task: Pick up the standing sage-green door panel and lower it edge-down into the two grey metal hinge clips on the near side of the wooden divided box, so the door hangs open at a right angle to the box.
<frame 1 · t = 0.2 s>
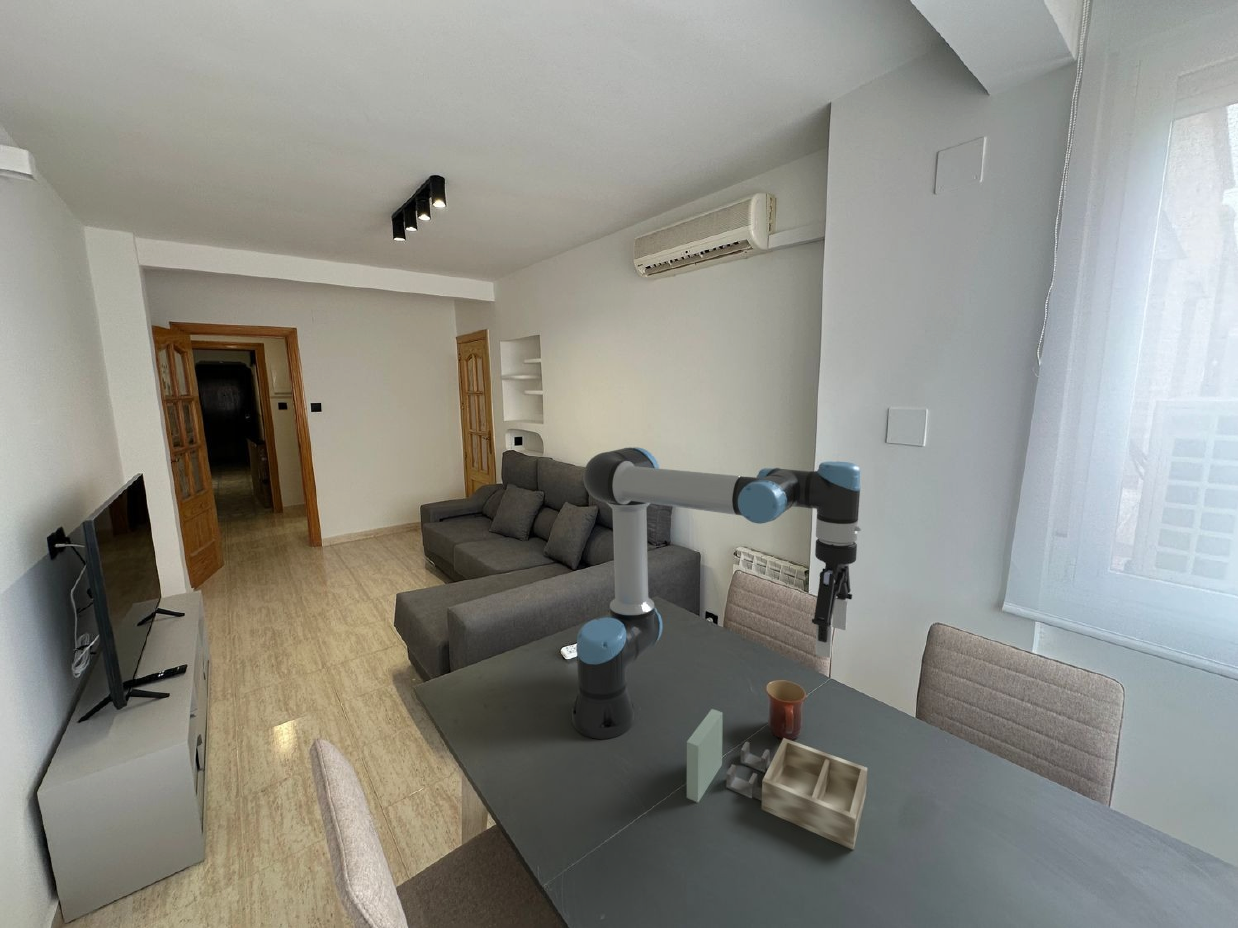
hand: (831, 641, 103), 28 cm above the table, fingers open, 13 cm apart
wooden divided box: (814, 802, 97), on the table
door: (705, 780, 103), on the table
mug: (785, 736, 116), on the table
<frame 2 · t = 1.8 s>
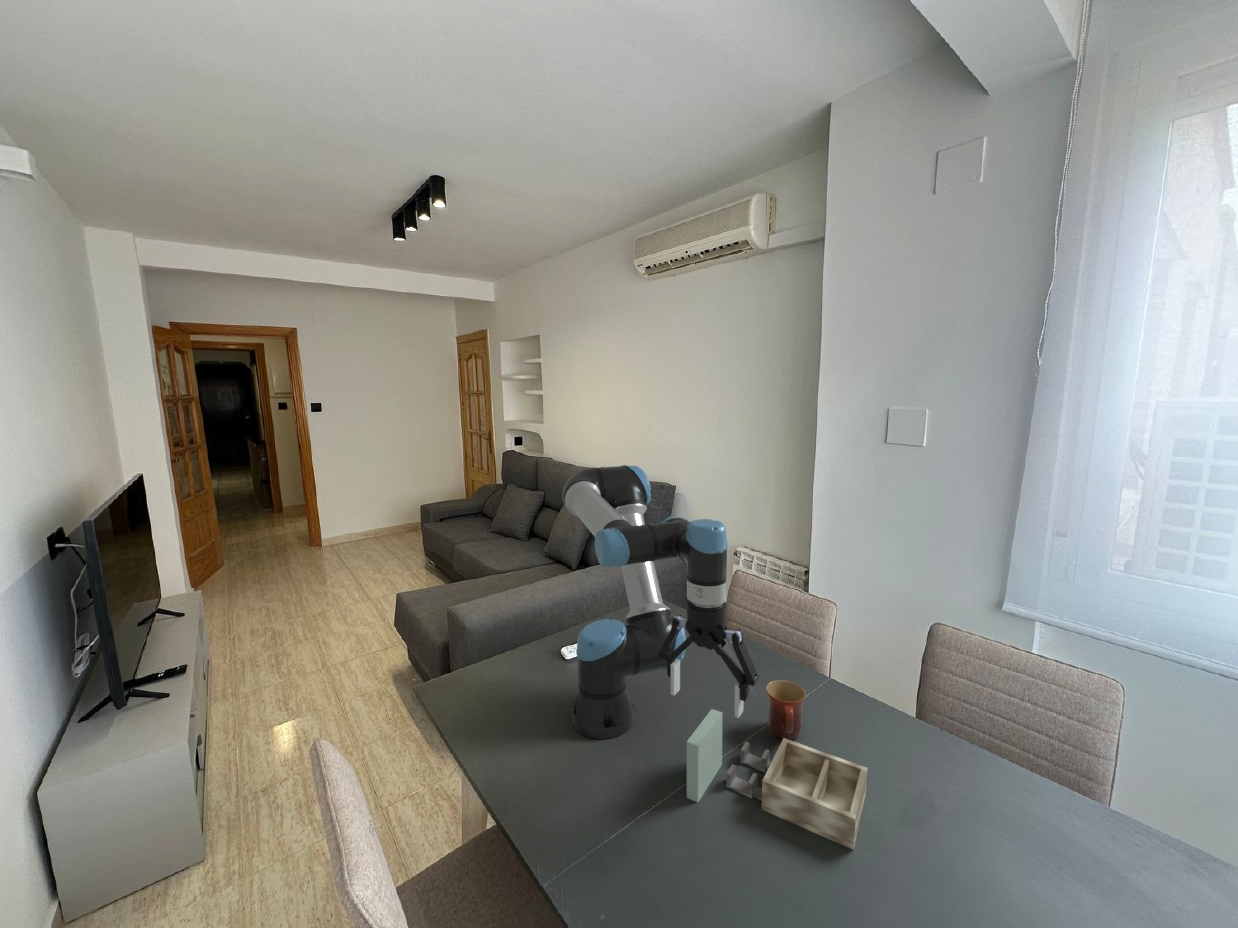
hand: (706, 702, 101), 17 cm above the table, fingers open, 13 cm apart
nothing on the table moved.
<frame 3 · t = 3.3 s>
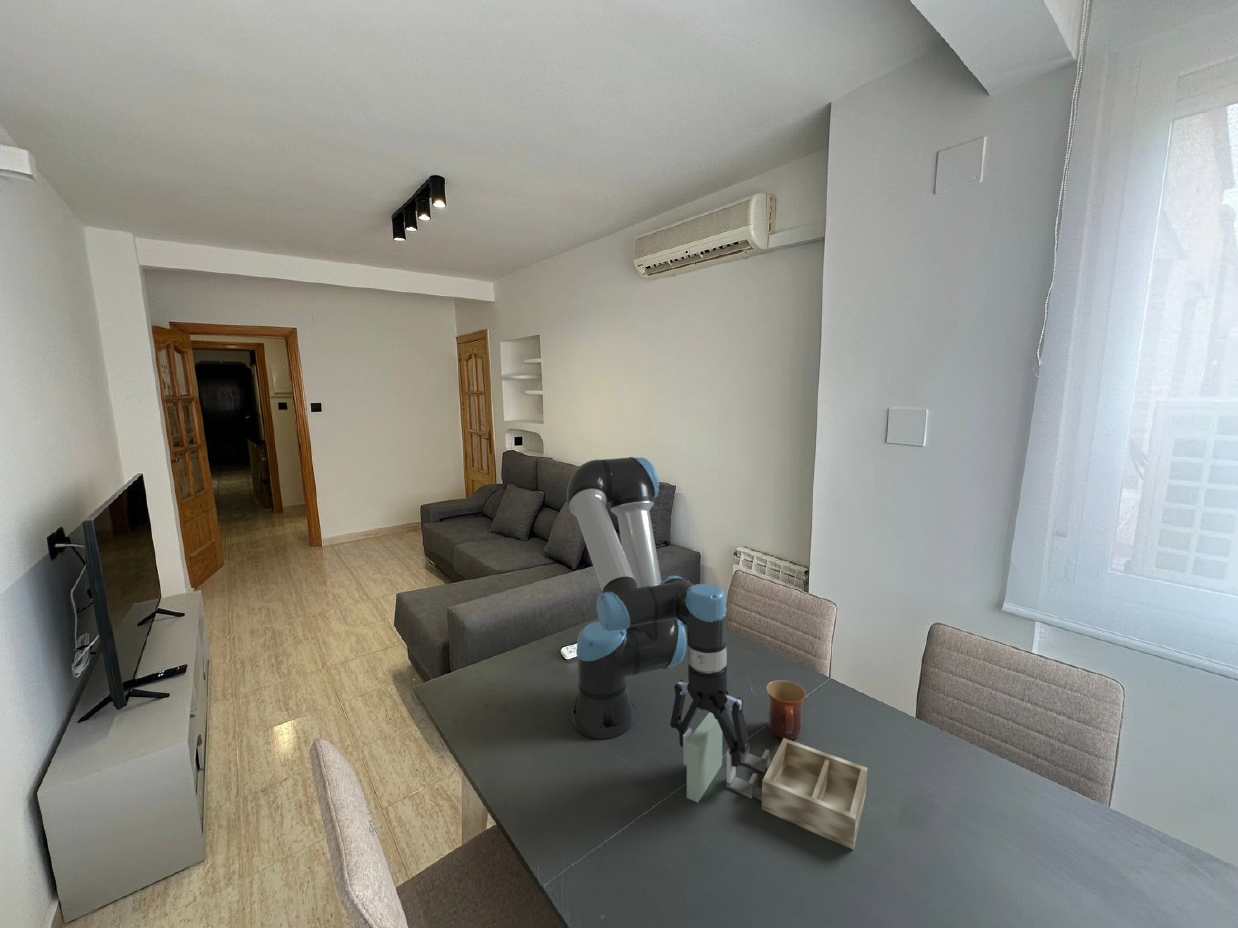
hand: (709, 769, 102), 3 cm above the table, fingers open, 9 cm apart
nothing on the table moved.
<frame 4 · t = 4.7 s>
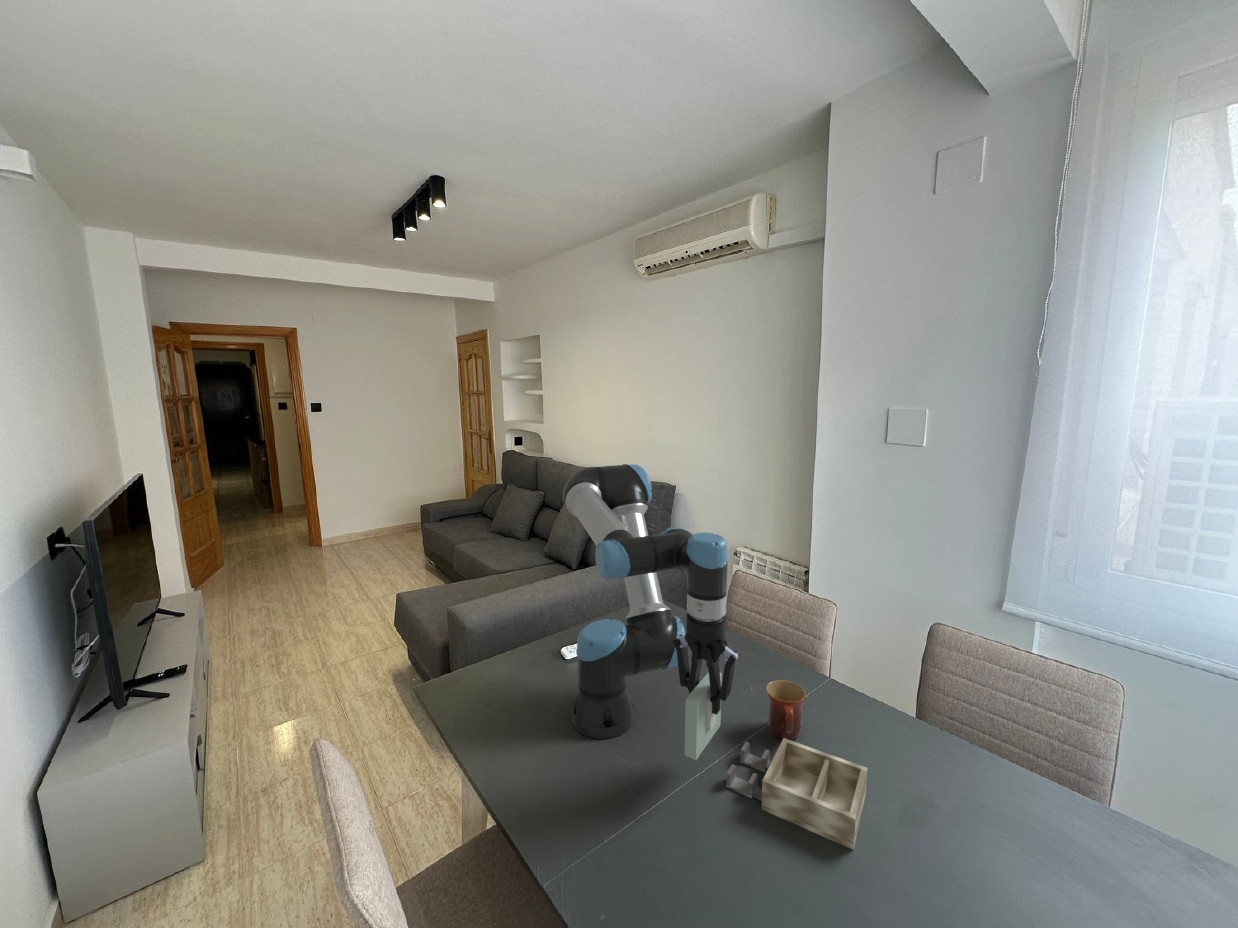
hand: (704, 722, 102), 12 cm above the table, fingers closed on door, 2 cm apart
door: (703, 739, 102), point 9 cm above the table, touching gripper
everything else where it was.
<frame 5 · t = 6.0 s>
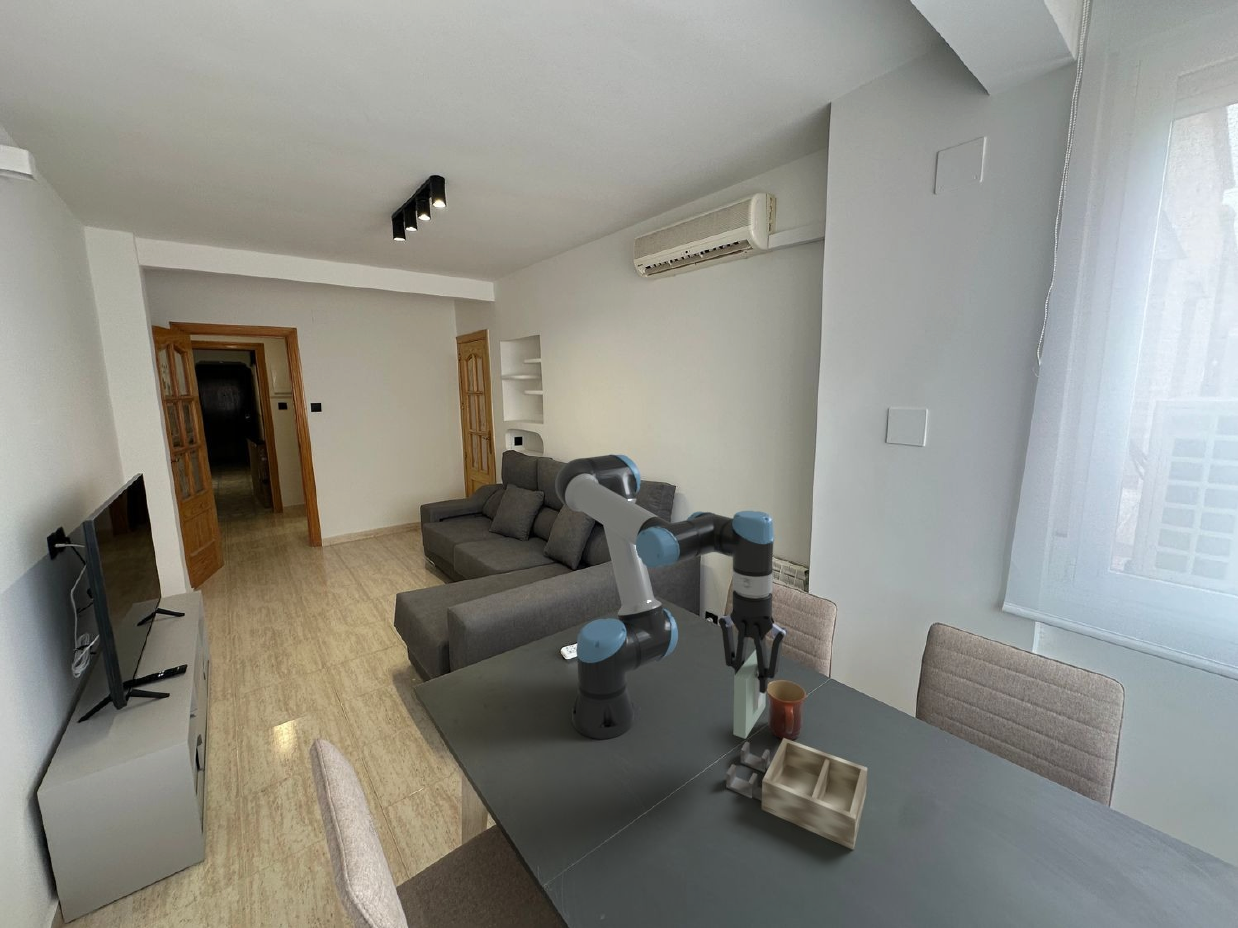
hand: (750, 702, 102), 16 cm above the table, fingers closed on door, 2 cm apart
door: (750, 719, 102), point 13 cm above the table, touching gripper
everything else where it was.
when the fingers open (3 cm above the table, at t = 7.9 s): door stays where it is, resting on wooden divided box.
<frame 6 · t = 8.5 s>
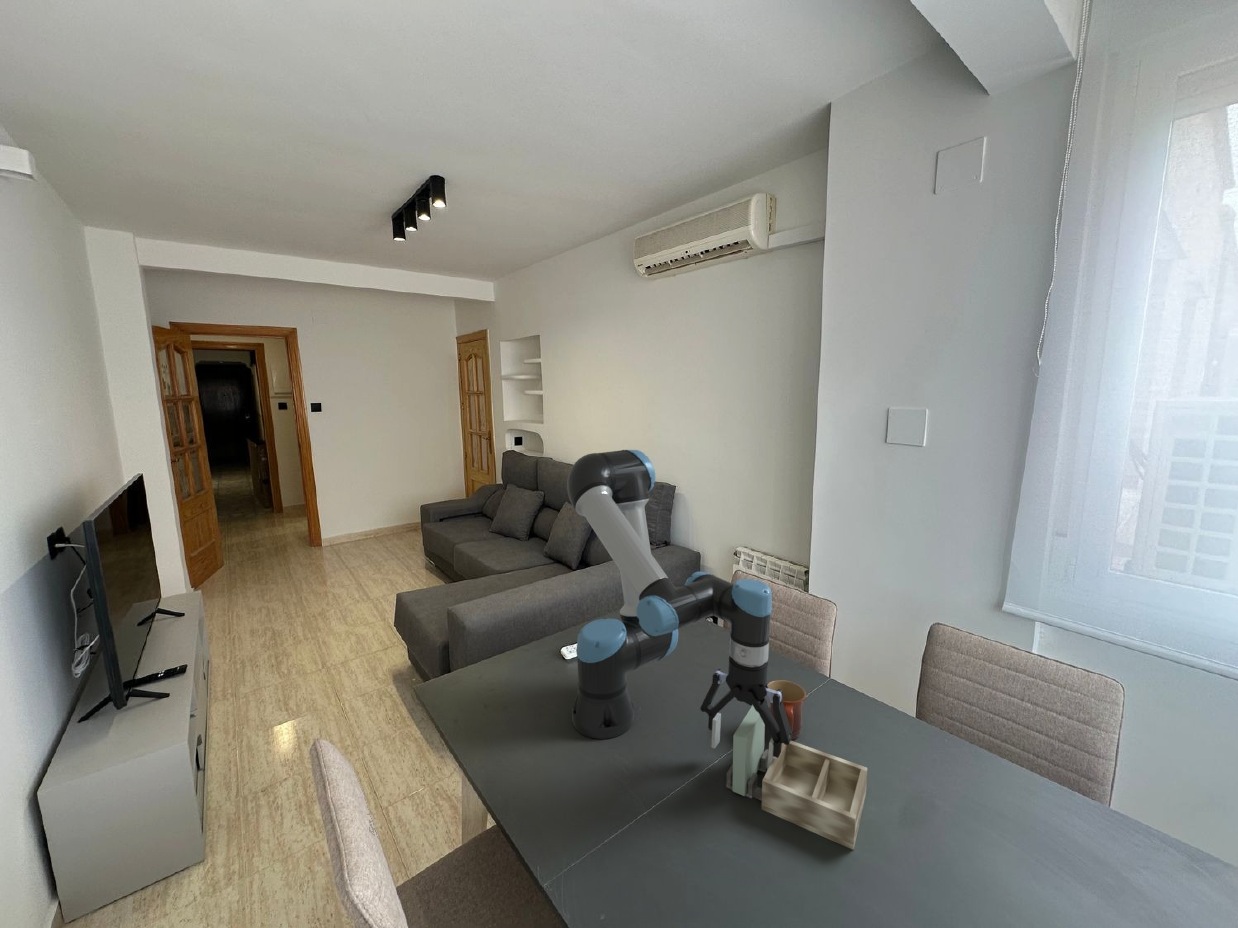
hand: (742, 755, 105), 4 cm above the table, fingers open, 11 cm apart
door: (748, 774, 104), point 1 cm above the table, touching wooden divided box
everything else where it was.
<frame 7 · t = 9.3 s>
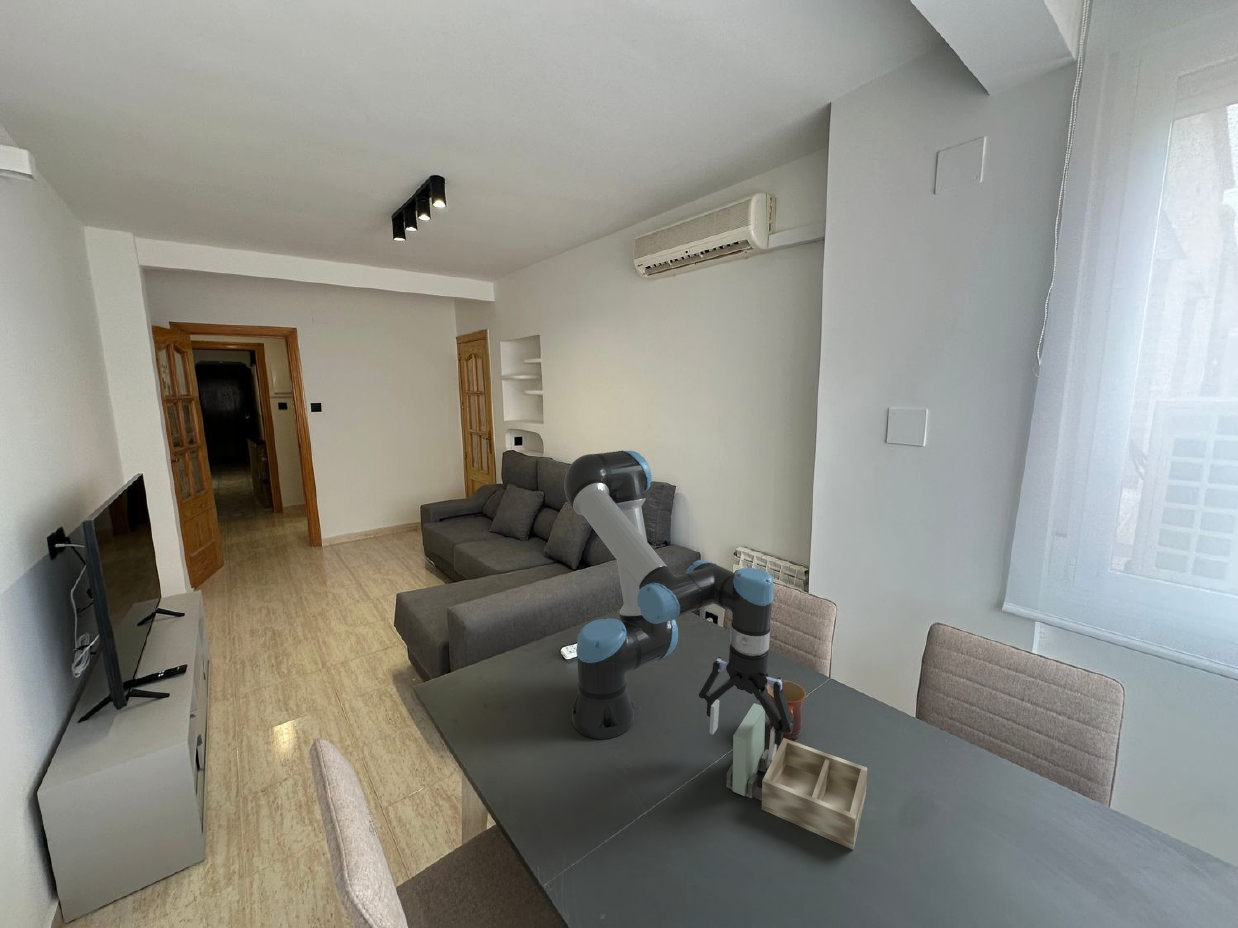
hand: (742, 742, 105), 6 cm above the table, fingers open, 12 cm apart
nothing on the table moved.
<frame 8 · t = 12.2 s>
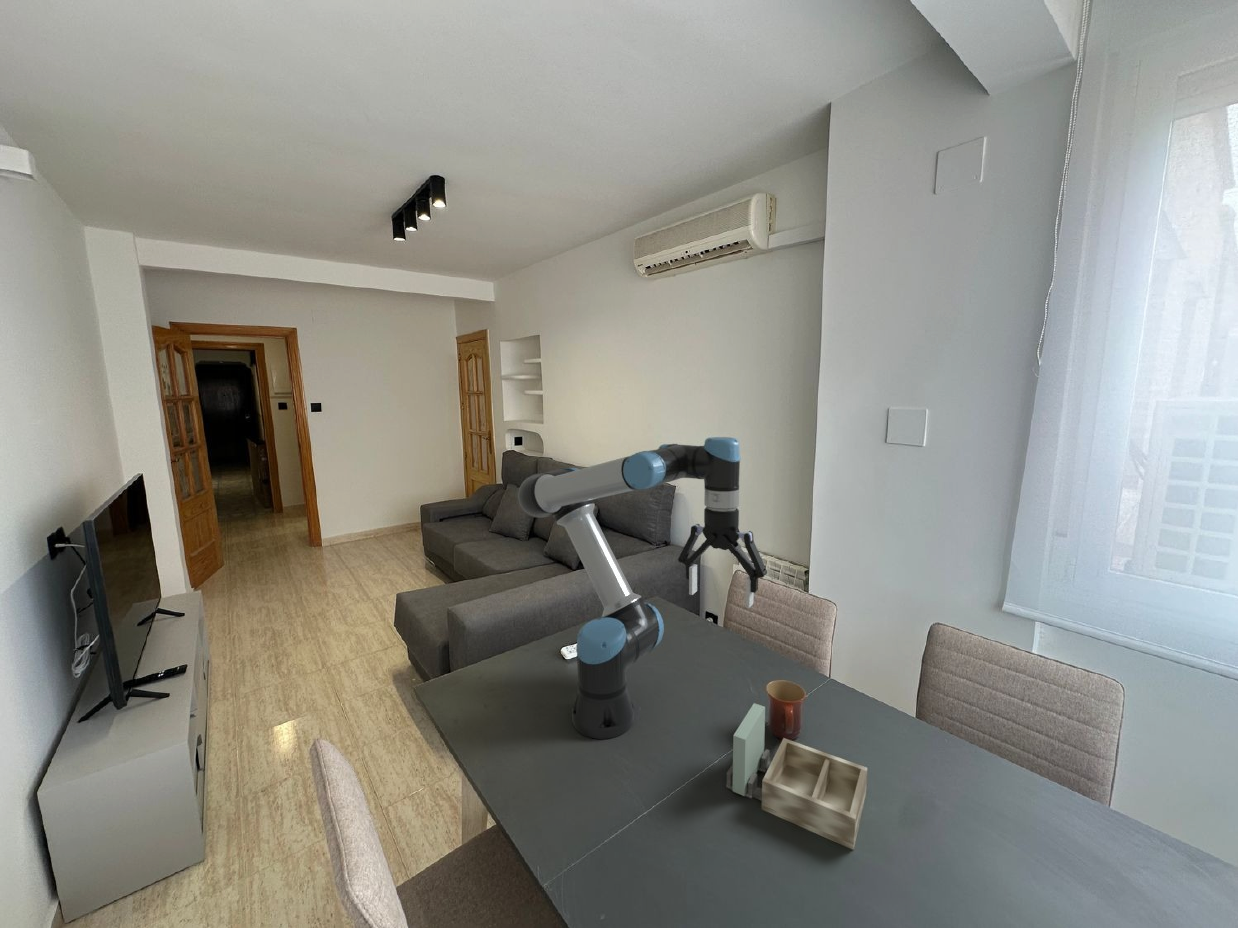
hand: (720, 598, 115), 32 cm above the table, fingers open, 13 cm apart
nothing on the table moved.
at the end: door 0.4 cm from the target spot on the wooden divided box, point 0.6 cm above the wooden divided box's base; door tilted 0°; the gripper is holding nothing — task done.
